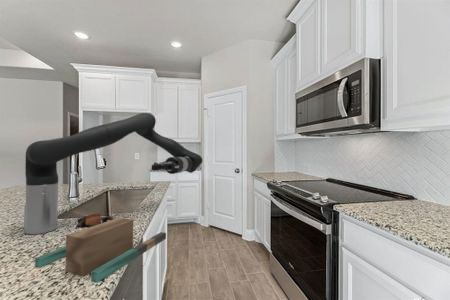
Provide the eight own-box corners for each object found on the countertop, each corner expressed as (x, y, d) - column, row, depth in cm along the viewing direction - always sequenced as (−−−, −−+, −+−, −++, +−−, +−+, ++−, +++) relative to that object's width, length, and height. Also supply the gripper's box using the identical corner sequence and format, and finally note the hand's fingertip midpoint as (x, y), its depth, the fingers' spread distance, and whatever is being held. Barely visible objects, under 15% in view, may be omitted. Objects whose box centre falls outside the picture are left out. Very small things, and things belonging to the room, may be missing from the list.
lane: (35, 265, 57) (35, 258, 57) (117, 231, 82) (117, 225, 82) (97, 282, 50) (98, 273, 50) (165, 238, 76) (165, 232, 76)
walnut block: (65, 272, 54) (66, 235, 54) (117, 246, 69) (118, 217, 69) (82, 277, 52) (83, 238, 52) (132, 249, 67) (133, 219, 67)
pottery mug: (75, 243, 72) (71, 219, 75) (82, 246, 80) (78, 223, 83) (115, 229, 77) (110, 207, 80) (118, 233, 85) (113, 212, 88)
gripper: (164, 156, 104) (139, 157, 88) (189, 157, 100) (168, 158, 84) (164, 172, 104) (139, 176, 88) (189, 173, 100) (167, 178, 84)
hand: (153, 167), depth 86 cm, fingers closed
